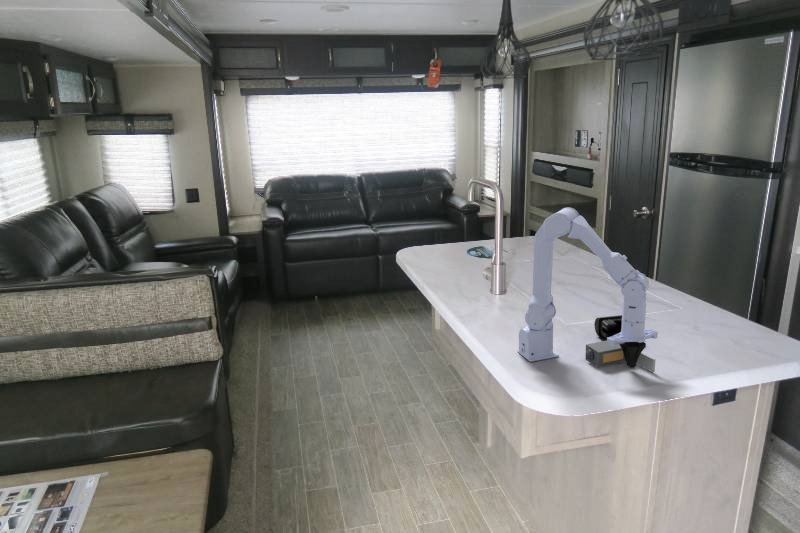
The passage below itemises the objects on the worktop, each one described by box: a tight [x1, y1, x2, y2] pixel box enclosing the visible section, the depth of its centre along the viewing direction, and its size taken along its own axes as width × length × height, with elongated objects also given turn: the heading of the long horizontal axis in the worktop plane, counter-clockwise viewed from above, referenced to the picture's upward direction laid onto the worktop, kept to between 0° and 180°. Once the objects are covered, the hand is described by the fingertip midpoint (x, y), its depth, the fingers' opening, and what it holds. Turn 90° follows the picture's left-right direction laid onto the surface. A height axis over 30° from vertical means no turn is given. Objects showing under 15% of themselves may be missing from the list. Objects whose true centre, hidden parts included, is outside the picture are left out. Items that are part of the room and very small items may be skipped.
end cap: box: [593, 314, 622, 341], centre depth 176 cm, size 10×7×7 cm
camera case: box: [585, 340, 626, 368], centre depth 161 cm, size 11×6×5 cm, turn 106°
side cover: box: [636, 351, 657, 373], centre depth 156 cm, size 9×1×4 cm, turn 20°
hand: (630, 366), depth 154 cm, fingers closed
